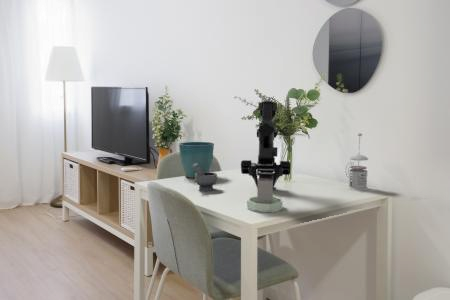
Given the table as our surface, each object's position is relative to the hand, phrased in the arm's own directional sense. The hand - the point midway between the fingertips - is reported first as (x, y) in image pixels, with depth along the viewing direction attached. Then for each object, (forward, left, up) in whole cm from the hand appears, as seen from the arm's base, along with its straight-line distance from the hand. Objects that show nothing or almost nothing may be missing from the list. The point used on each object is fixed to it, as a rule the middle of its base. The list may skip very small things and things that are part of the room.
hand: (265, 186), depth 169 cm
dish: (-1, -1, -8) cm, 9 cm away
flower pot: (-12, -70, -9) cm, 71 cm away
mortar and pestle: (+1, -41, -9) cm, 42 cm away
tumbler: (-1, -1, -7) cm, 7 cm away
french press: (-57, -5, -9) cm, 58 cm away
